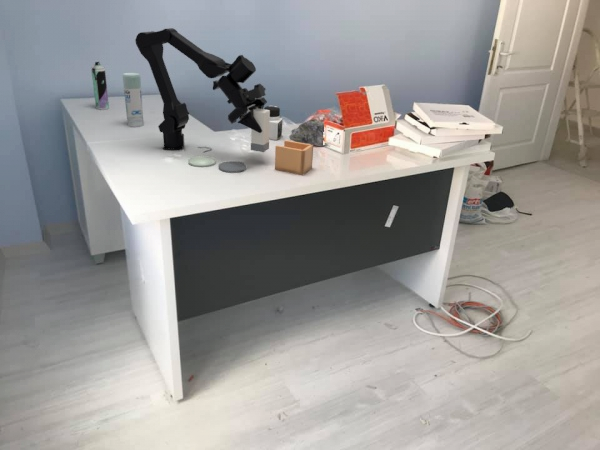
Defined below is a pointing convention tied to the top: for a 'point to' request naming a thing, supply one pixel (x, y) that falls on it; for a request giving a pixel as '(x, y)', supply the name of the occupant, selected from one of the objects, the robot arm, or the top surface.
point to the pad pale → (202, 161)
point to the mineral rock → (309, 133)
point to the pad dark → (232, 166)
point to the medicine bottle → (274, 123)
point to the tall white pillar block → (262, 139)
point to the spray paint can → (133, 99)
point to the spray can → (100, 87)
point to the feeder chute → (294, 157)
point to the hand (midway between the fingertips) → (264, 130)
